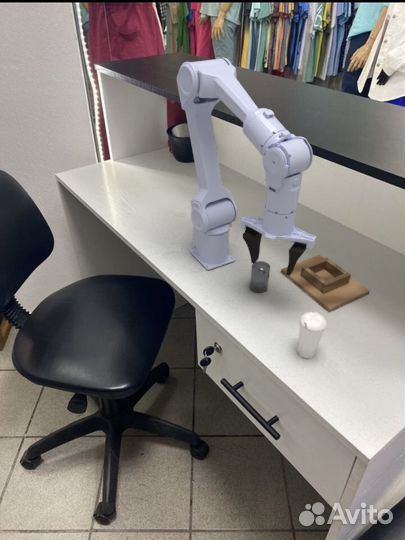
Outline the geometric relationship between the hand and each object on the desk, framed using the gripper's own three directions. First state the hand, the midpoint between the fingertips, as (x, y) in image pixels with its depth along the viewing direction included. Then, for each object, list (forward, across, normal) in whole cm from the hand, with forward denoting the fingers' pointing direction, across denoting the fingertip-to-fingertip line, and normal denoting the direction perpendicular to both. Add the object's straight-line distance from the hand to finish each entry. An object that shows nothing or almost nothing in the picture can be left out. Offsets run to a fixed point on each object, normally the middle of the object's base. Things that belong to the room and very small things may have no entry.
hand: (271, 266), depth 79 cm
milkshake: (+10, +12, -10) cm, 18 cm away
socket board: (+9, +8, +13) cm, 18 cm away
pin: (+10, -4, +3) cm, 11 cm away
